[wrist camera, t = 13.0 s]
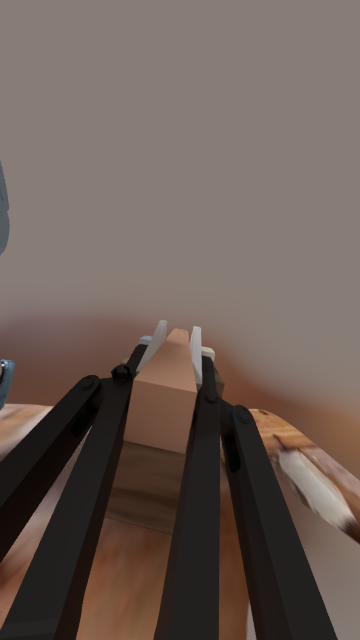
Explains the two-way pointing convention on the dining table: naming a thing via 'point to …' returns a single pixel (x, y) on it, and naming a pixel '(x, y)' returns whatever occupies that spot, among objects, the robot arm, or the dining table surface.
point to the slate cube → (145, 340)
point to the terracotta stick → (164, 397)
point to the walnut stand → (149, 483)
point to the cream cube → (208, 352)
